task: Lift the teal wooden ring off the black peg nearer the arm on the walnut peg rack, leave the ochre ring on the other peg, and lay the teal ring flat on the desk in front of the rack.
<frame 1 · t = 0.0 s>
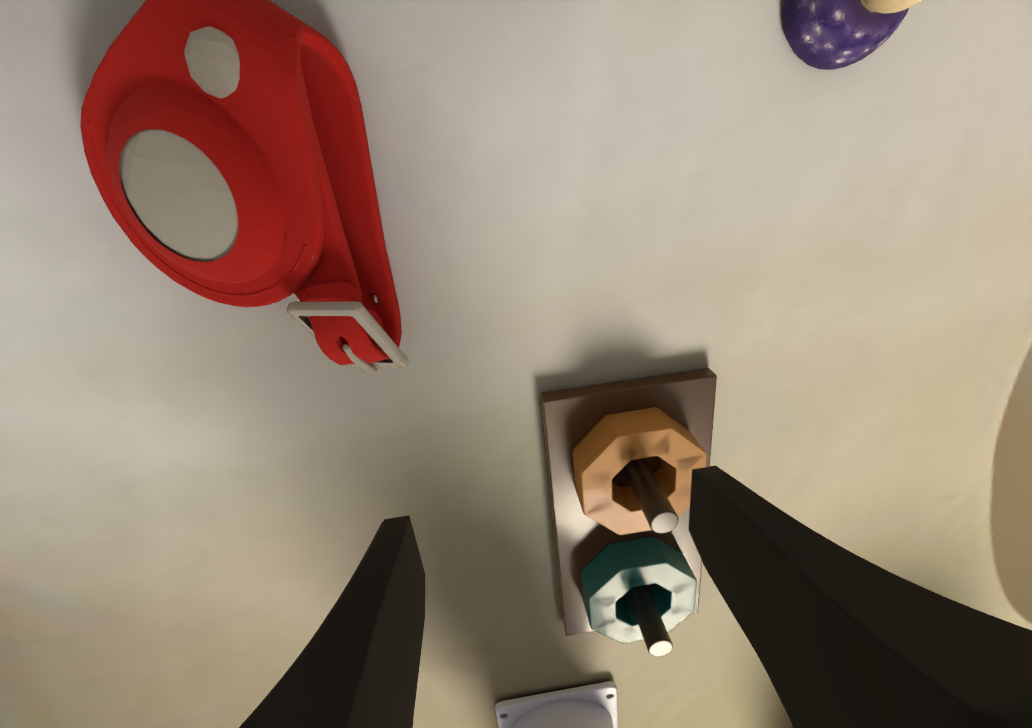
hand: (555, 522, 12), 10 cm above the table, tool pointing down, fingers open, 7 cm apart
teal ring: (632, 576, 27), point 1 cm above the table, touching peg rack
peg rack: (627, 511, 26), on the table
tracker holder: (278, 216, 18), on the table
ochre ring: (631, 460, 24), point 1 cm above the table, touching peg rack
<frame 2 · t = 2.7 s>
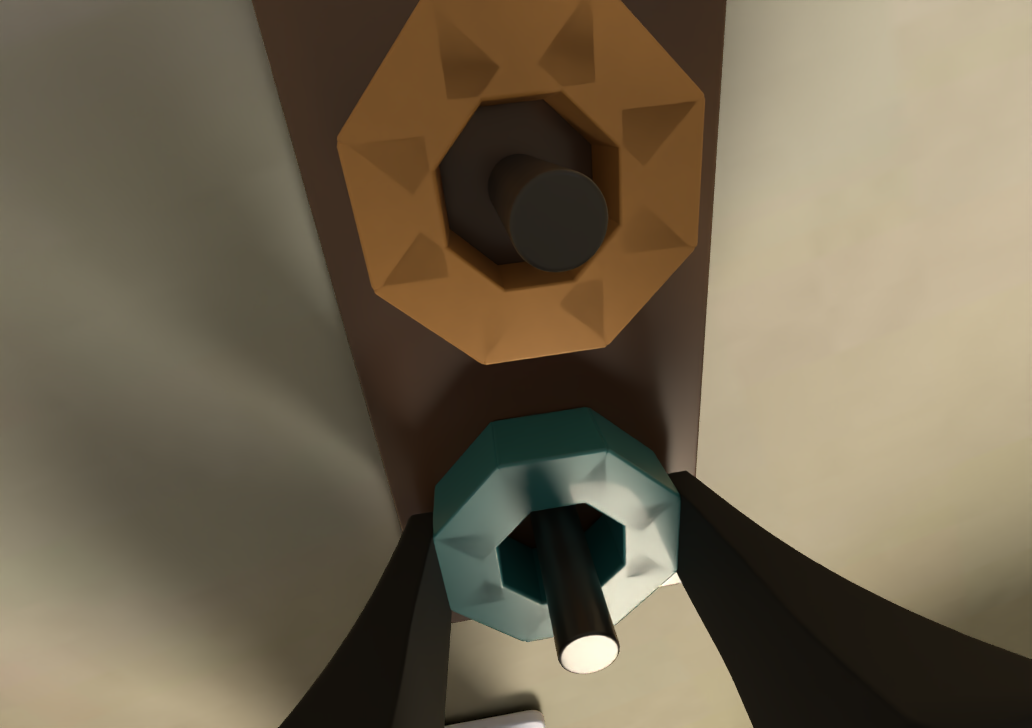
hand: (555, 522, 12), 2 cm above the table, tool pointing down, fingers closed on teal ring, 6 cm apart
teal ring: (549, 503, 13), point 1 cm above the table, touching gripper, peg rack
peg rack: (532, 355, 12), on the table
ochre ring: (518, 187, 10), point 1 cm above the table, touching peg rack
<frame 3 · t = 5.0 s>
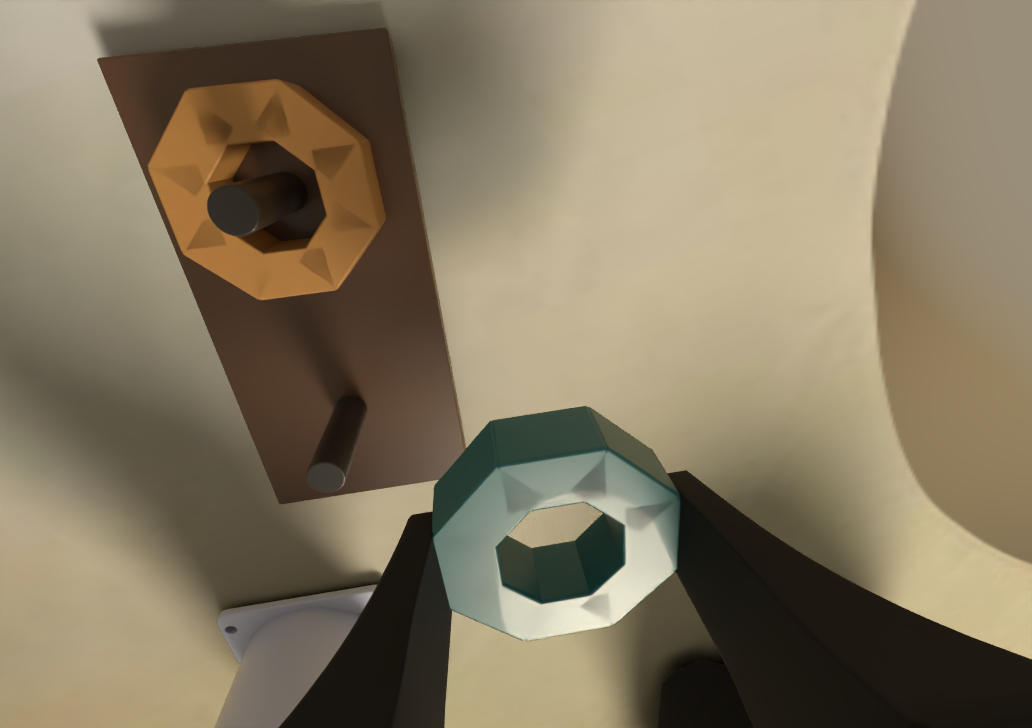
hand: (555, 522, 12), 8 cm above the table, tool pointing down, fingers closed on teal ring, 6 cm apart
teal ring: (548, 503, 13), point 8 cm above the table, touching gripper
peg rack: (328, 304, 18), on the table
penguin: (743, 705, 33), on the table
ochre ring: (287, 192, 15), point 1 cm above the table, touching peg rack
when the fingers open (1 cm above the table, at t = 7.7 s): teal ring stays where it is, on the table.
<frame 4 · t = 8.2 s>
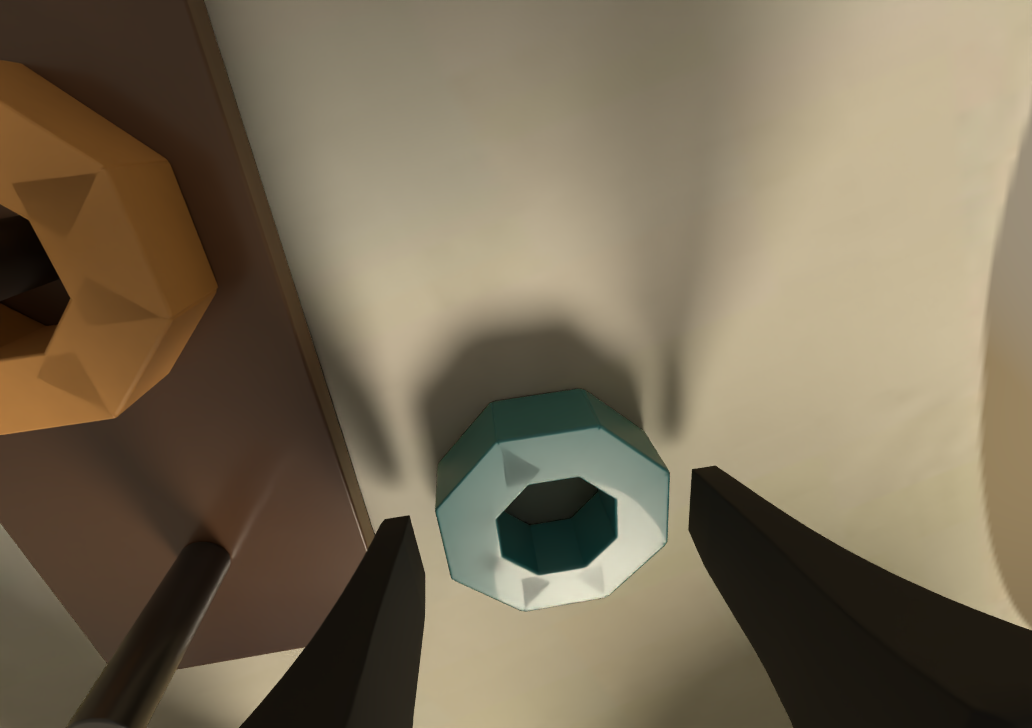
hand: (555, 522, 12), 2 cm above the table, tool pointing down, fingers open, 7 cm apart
teal ring: (545, 481, 14), on the table
peg rack: (156, 409, 12), on the table
ochre ring: (39, 247, 9), point 1 cm above the table, touching peg rack
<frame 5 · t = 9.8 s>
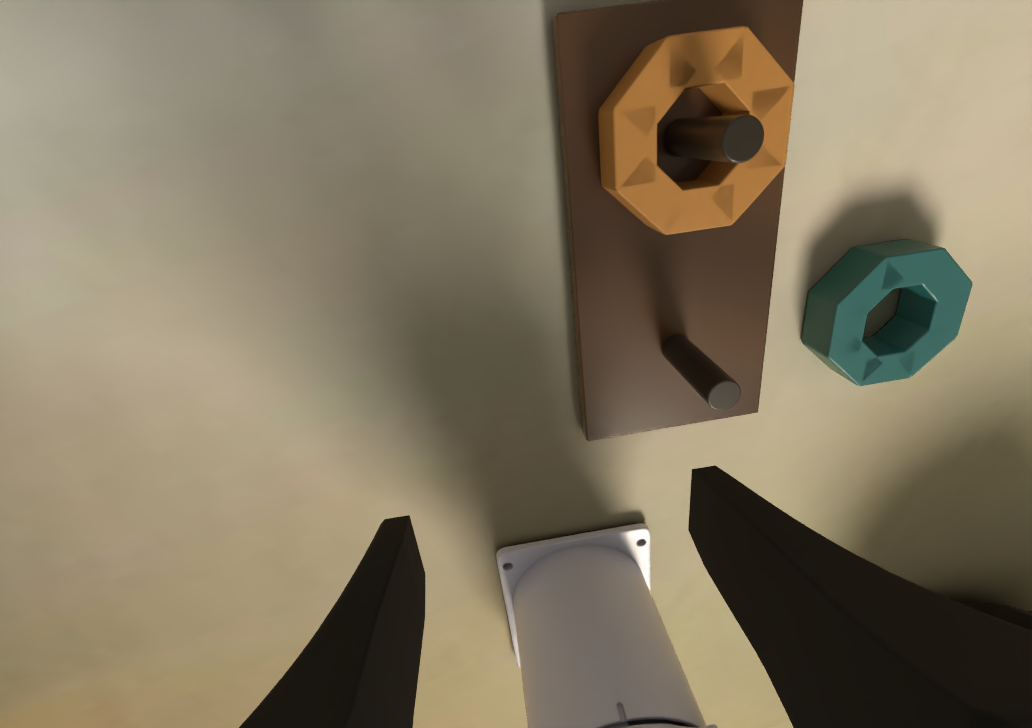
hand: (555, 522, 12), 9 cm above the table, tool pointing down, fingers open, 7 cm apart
teal ring: (866, 307, 22), on the table
peg rack: (668, 247, 19), on the table
penguin: (927, 650, 34), on the table
ochre ring: (679, 137, 17), point 1 cm above the table, touching peg rack
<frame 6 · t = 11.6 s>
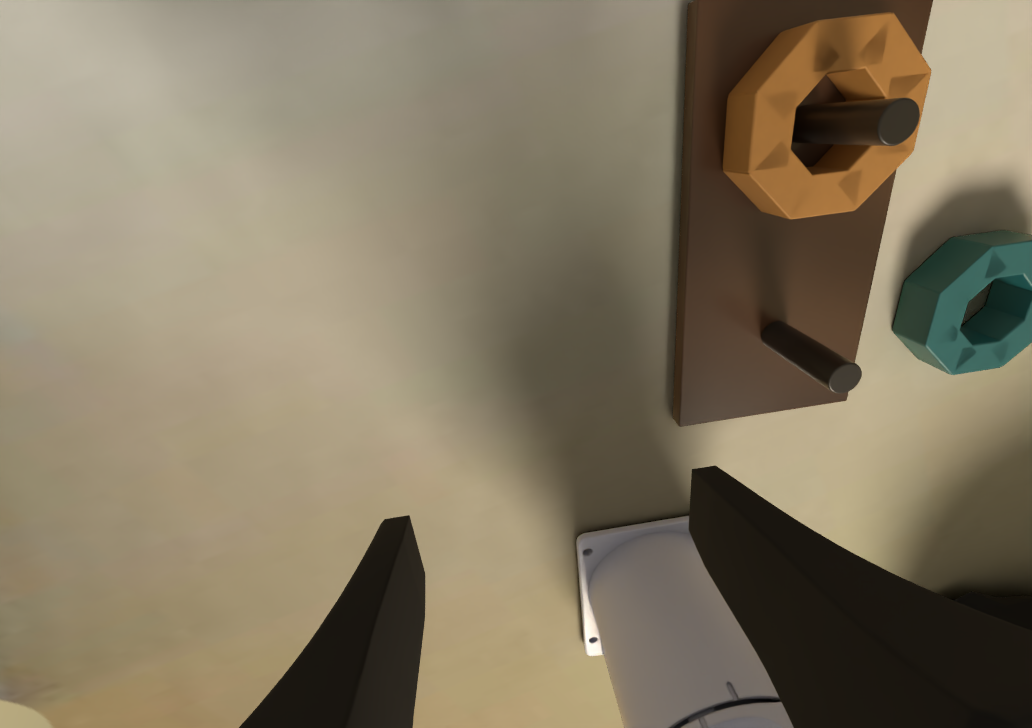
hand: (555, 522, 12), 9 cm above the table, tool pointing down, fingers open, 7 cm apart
teal ring: (957, 297, 22), on the table
peg rack: (775, 234, 20), on the table
penguin: (979, 643, 34), on the table
ochre ring: (802, 124, 17), point 1 cm above the table, touching peg rack
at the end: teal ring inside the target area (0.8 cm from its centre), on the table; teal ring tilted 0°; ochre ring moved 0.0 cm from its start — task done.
